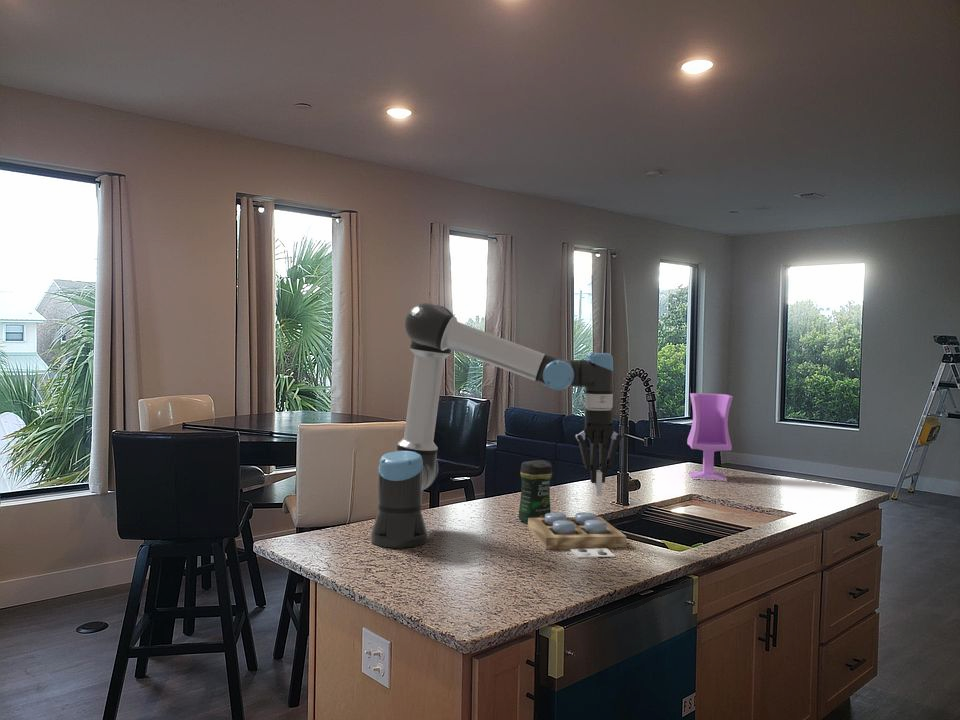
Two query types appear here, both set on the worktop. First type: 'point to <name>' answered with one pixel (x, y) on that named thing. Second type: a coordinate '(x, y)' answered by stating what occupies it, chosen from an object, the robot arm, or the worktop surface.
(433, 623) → the worktop surface
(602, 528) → the button
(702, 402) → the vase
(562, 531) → the button
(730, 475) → the worktop surface
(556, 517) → the button
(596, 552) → the card
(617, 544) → the board
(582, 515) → the button
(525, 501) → the coffee jar
